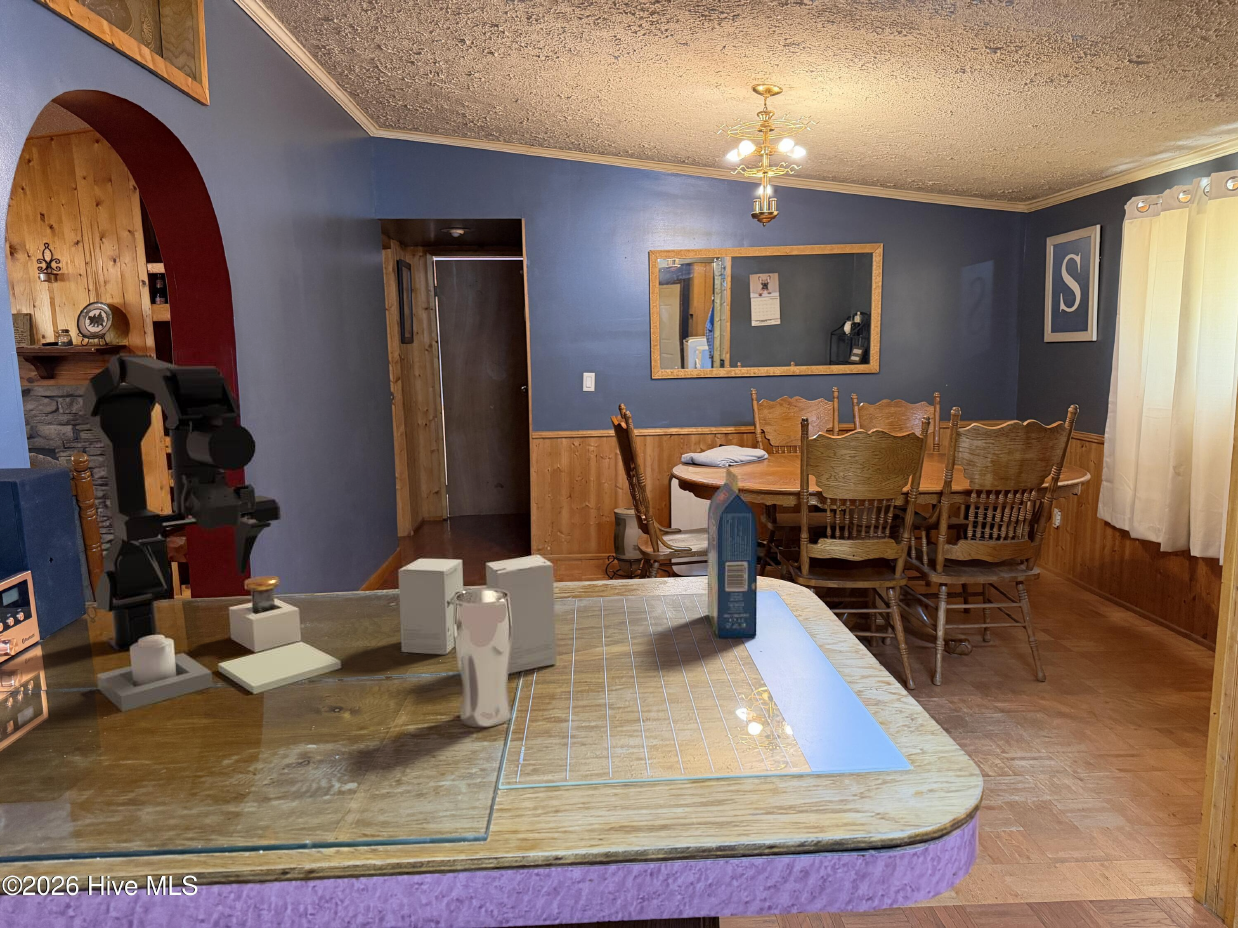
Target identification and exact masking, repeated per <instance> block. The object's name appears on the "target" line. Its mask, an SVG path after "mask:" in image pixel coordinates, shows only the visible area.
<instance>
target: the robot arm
mask: <svg viewBox="0 0 1238 928" xmlns="http://www.w3.org/2000/svg"><path fill="white" fill-rule="evenodd" d="M157 405H158V406H160V407H161V408H162V410H163V412H164V413H165V415H166V416H167V419H166V421H165V427H166V428H168V430H169V442H170V455H171V456H170V457H171V467H172V468H171V469H172V470H170V471H169V472H170V480H172V481H173V493H174V494H173V496H174V502H172V510H173V511H174V512H173V513H172V512H171V513H165V514H163V513H162V514H160V513H158V512H156V511H154V510H151V509H149V508H148V502H147V491H146V483H145V473H144V472H145V471H144V461H143V460H144V459H143V451H142V449H143V448H142V442H143V440H144V439H145V436H146V435H147V433H148V432H149V431H150V428H151V427H152V413H153V412H154V409H155V407H156V406H157ZM82 408H83V413H84V415H85V416H86V417H87V418H88V419H87V420H88V425H89V428H90V429H91V430H92V432H93V433H94V434H95V435H96V436H97V438H98V439H99V440H100V441H101V442H102V443H103V445H104V452H105V465H106V475H107V482H108V484H107V485H108V495H109V502H110V503H109V505H110V512H111V513H110V515H111V526H112V532H113V533H112V534H113V541H112V543H111V544H110V547H108V550H107V551H106V553H105V555H104V557H103V561H102V565H103V566H102V567H103V568H102V569H103V572H101V575H100V577H99V581H98V583H97V586H96V590H95V592H94V596H95V600H96V601H95V602H96V606H97V608H99V609H101V610H103V611H105V612H107V613H111V615H112V616H111V617H112V624H113V627H112V628H113V636H114V637H109V638H107V639H106V640H107V643H108V644H109V645H110V646H112V647H113V648H114V649H115V650H117V651H118V652H123V651H126V650H127V651H128V650H130V647H131V646H132V645H133V644H135V643H138V640H139V639H140V638H143V637H146V636H150V635H162V634H161V633H160V632H158V626H157V625H158V624H157V615H156V614H157V613H156V603H155V602H157V601H166V600H169V594H170V589H171V569H170V568H169V562H168V558H167V552H166V546H167V538H165V537H162V536H161V534H162V533H163V532H164V530H166V529H173V528H180V527H187V526H195V525H197V526H198V527H199V528H201V530H202V529H203V530H214V529H216V528H221V527H228V526H229V527H233V528H234V530H233V531H234V544H235V545H234V546H235V548H234V549H235V561H236V568H237V572H238V574H239V575H240V576H241V575H245V573H246V570H247V567H248V563H249V560H250V557H251V555H252V550H253V547H254V545H255V543H256V541H257V539H258V537H259V535H260V534H261V533H262V531H264V529H266V528H269V527H271V526H272V522H273V521H279V520H281V517H282V516H281V506H280V504H279V502H278V501H277V500H276V499H274V498H272V497H269V496H265V495H256V492H255V487H254V486H253V485H252V484H250V483H248V484H239V485H235V487H230V486H229V484H228V480H227V477H228V476H226V475H227V474H226V471H232V472H234V471H238V470H241V469H243V468H245V467H246V466H247V465H248V464H250V462H252V460H253V458H254V455H255V453H256V446H257V445H256V441H255V440H254V437H253V435H252V433H251V432H250V431H249V430H248V429H247V428H246V427H245V426H243V425H240V424H239V423H238V419H240V417H241V413H240V411H239V408H240V405H239V403H238V401H237V399H236V397H235V396H234V394H233V392H232V390H231V388H230V387H229V384H228V382H227V379H226V378H225V377H224V375H223V374H222V373H221V371H220V369H219V368H217V367H216V366H213V365H212V366H210V365H209V366H208V365H206V366H204V365H203V366H202V365H201V366H200V365H199V366H179V365H175V364H172V363H170V362H166V361H164V360H159V359H156V358H155V357H154V356H152V355H151V356H150V355H148V354H117V355H115V356H112V357H111V359H110V361H109V363H108V365H107V367H105V368H104V369H102V370H101V371H99V372H98V373H96V374H95V375H93V376H92V377H91V378H90V379H88V382H87V385H86V387H85V390H84V392H83V397H82ZM187 517H188V518H187ZM163 636H164V638H167V637H166V636H165V635H163Z"/></svg>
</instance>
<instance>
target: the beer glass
mask: <svg viewBox="0 0 1238 928" xmlns="http://www.w3.org/2000/svg"><path fill="white" fill-rule="evenodd" d="M453 636H454V652H455V656H456V661H457V666H458V670H459V674H460V679H461V684H462V686H461V687H462V703H461V708H460V718H459V719H460V721H461V722H462V724H464V725H465V726H467V727H470V728H471V727H472V728H478V729H479V728H480V729H481V728H484V729H485V728H491V727H492V728H493V727H497V726H500V725H503V724H505V723H506V722H508V721H509V720H510V719H511V718H512V713H513V712H512V707H511V702H510V697H509V692H508V690H509V689H508V684H509V683H508V679H509V674H508V672H509V666H510V659H511V652H512V642H513V623H512V611H511V603H510V593H509V592H507V591H505V590H502V589H496V588H487V587H482V588H481V587H480V588H473V589H471V588H470V589H467V590H463V592H460V593H458V594H456V595H455V596H454V612H453Z"/></svg>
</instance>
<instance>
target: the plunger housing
mask: <svg viewBox="0 0 1238 928" xmlns="http://www.w3.org/2000/svg"><path fill="white" fill-rule="evenodd" d="M274 601H275V610H272V611H267V612H263V613H259V614H254V613H253V611H252V602H248V603H244V604H243V603H242V604H239V605H235V606H234V605H233V606H230V607H228V613H229V614H228V615H229V626H230V627H229V628H230V629H229V630H230V639H231V640H233V641H234V642H236V643H238V644H240V645H241V646H243V647H245V648H247V649H248V650H251V651H252V652H254V653H259V652H263V651H267V650H271V649H274V648H278V647H282V646H286V645H288V644H289V645H290V644H293V643H297V642H301V641H302V637H301V636H302V635H301V633H302V632H301V621H300V620H301V619H300V609H299V608H298V607H295V606H294V605H291V604H289V603H286V602H284V601H282V600H279V599H277V598H275V597H274Z"/></svg>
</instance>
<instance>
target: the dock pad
mask: <svg viewBox="0 0 1238 928" xmlns="http://www.w3.org/2000/svg"><path fill="white" fill-rule="evenodd" d="M341 662H342V661H341V660H339V659H338V658H335V657H333V656H331V655H329V654H327V653H326V652H324V651H321V650H319V649H317V648H315V647H313V646H312V645H309V644H308V643H305V642H303V641H297V642H293V643H290V644H289V645H288V644H286V645H282V646H278V647H275V648H271V649H267V650H263V651H260V652H256V653H254V654H250V655H246V656H241V657H239V658H235V659H231V660H227V661H223V662H220V663H218V664H217V667H218V672H220V673H222V674H223V675H225V677H228V678H229V679H231V680H232V681H234V682H235V683H237V684H238V685H240V686H241V687H243V688H245V689H246V690H247V691H249V692H250V693H252V694H253V695H254V694H258V693H262V692H265V691H268V690H272V689H275V688H278V687H283V686H285V685H289V684H292V683H296V682H298V681H302V680H305V679H309V678H312V677H316V676H319V675H323V674H326V673H329V672H333V671H336V670H339V669H341V668H342V663H341Z"/></svg>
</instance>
